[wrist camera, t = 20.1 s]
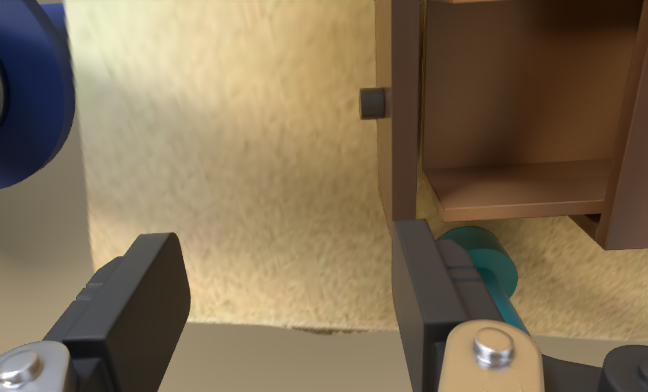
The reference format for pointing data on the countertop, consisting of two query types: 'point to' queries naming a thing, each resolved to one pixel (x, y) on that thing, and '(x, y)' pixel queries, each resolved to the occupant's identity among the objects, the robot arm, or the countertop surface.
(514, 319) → the teal flanged rod post
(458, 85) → the drawer
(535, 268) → the countertop surface
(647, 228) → the cabinet
